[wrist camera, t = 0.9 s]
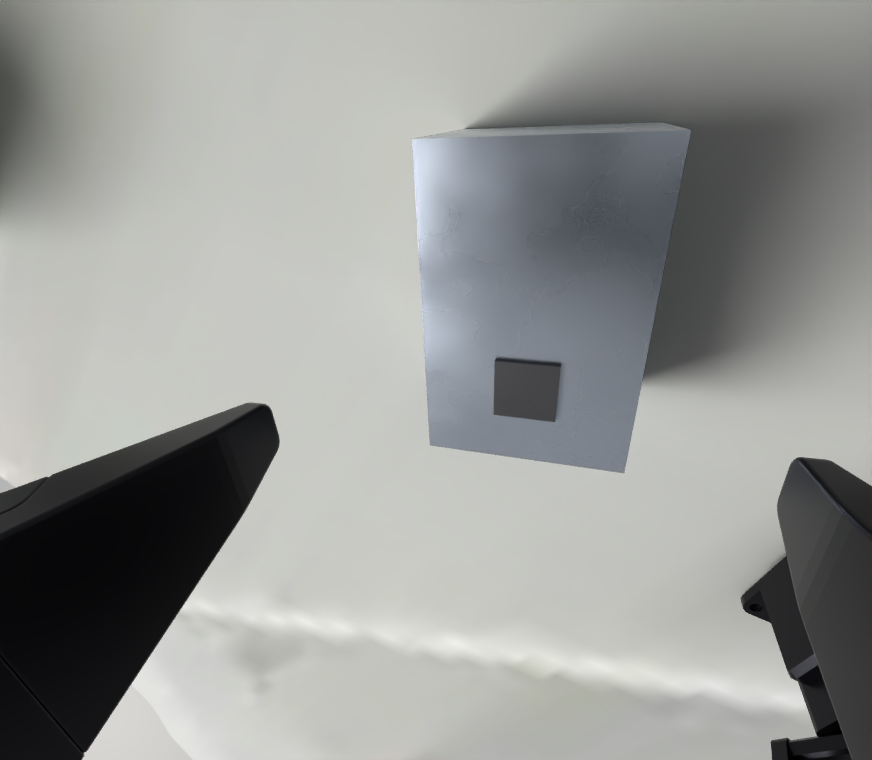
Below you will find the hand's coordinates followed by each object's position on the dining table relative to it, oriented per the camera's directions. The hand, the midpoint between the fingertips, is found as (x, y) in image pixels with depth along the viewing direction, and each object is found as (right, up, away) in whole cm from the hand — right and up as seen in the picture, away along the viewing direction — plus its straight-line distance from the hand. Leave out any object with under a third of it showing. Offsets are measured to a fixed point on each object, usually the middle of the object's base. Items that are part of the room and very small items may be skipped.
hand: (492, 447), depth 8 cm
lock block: (+3, +5, +9) cm, 11 cm away
